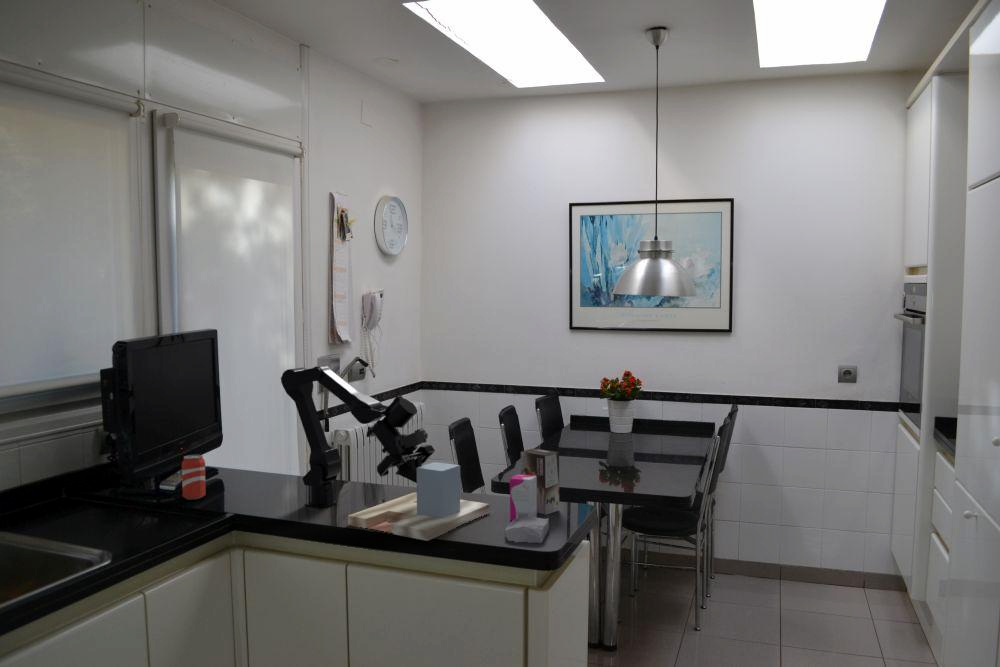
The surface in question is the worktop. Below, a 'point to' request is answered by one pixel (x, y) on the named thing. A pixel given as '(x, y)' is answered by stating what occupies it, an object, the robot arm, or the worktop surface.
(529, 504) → the supplement box
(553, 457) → the coffee box
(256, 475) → the worktop surface
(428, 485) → the slate block
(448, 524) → the trap board
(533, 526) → the stone block
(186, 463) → the beverage can
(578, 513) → the worktop surface
